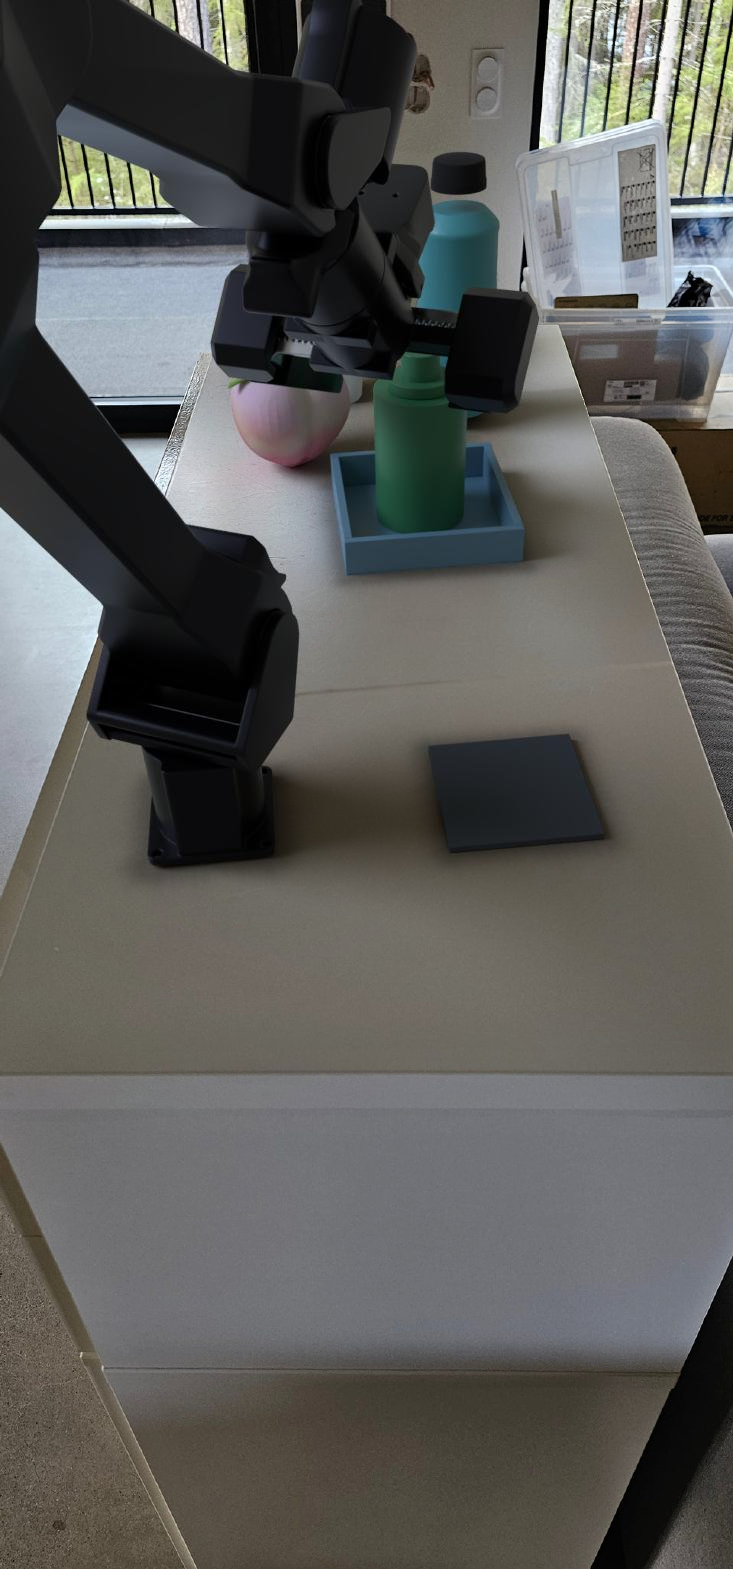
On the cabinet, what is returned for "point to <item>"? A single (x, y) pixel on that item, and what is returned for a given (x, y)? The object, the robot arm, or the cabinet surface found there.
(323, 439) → the decorative fruit
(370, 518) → the tray
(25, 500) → the robot arm
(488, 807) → the mat
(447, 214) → the beverage bottle
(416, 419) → the green bottle
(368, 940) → the cabinet surface
